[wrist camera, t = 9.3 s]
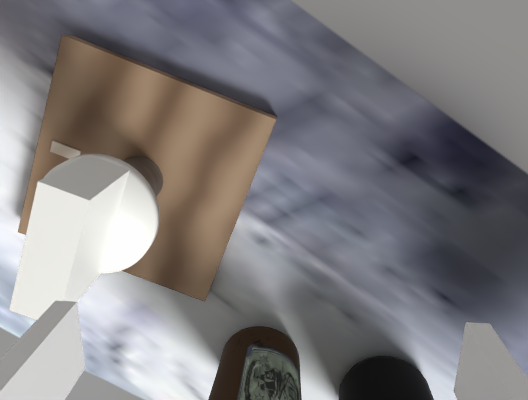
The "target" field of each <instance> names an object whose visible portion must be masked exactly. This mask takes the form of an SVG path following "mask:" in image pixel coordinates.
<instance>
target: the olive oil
mask: <svg viewBox="0 0 528 400" xmlns="http://www.w3.org/2000/svg"><path fill="white" fill-rule="evenodd" d="M208 400H302V399H301V383H300V362H299V355H298V351H297V349H296V347H295V345H294V344H293V342H292V341H291V340H290V339H289V338H288V337H287V336H286V335H284V334H283V333H281V332H279V331H277V330H274V329H271V328H267V327H251V328H247V329H244V330H241V331H239V332H238V333H236V334H235V335H233V336H232V337H231V338H230V339H229V341H228V342H227V344H226V345H225V348H224V350H223V353H222V357H221V360H220V364H219V367H218V371H217V374H216V377H215V381H214V384H213V387H212V390H211V393H210V396H209V399H208Z"/></svg>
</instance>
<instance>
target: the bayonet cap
mask: <svg viewBox="0 0 528 400" xmlns="http://www.w3.org/2000/svg"><path fill="white" fill-rule="evenodd" d="M159 223H160V211H159V205H158V201H157V198H156V195H155V193H154V191H153V189H152V188H151V186H150V184H149V183H148V181H147V180H146V179H145V178H144V176H143V175H142V174H141V173H140V172H139V171H137V170H136V169H135V168H134V167H132V166H131V165H129V164H128V163H126V162H124V161H122V160H120V159H118V158H115V157H112V156H109V155H104V154H84V155H79V156H76V157H73V158H71V159H69V160H67V161H65V162H63V163H61V164H59V165H57V166H56V167H54V168H53V169H52V170H50V171H49V172H48V173H47V174H46V175H45V176H44V178H43V179H41V180H39V181H38V183H37V187H36V192H35V196H34V201H33V205H32V210H31V214H30V219H29V224H28V228H27V233H26V237H25V242H24V246H23V251H22V255H21V260H20V264H19V269H18V273H17V278H16V283H15V287H14V292H13V296H12V301H11V305H10V311H13V312H16V313H19V314H21V315H24V316H27V317H30V318H33V319H35V320H38V319H39V317H40V316H41V315H42V314H43V313H44V312H45V311H46V310H47V309H48V308H49V307H50V306H51V305H52V304H53V303H54V302H55V301H73V302H78V301H79V300H80V299H81V297H82V296H83V295H84V294H85V293H86V291H87V290H88V289H89V288H90V287H91V286H92V284H93V283H94V282H95V281H96V280H97V279H98V277H99V276H100V273H101V274H104V273H114V272H118V271H121V270H124V269H126V268H128V267H131V266H132V265H134V264H135V263H136V262H138V261H139V260H140V259H141V258H142V257H143V256H144V254H145V253H146V252H147V250H148V249H149V248H150V246H151V245H152V243H153V242H154V240H155V238H156V235H157V233H158V229H159Z"/></svg>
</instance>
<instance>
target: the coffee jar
mask: <svg viewBox="0 0 528 400" xmlns="http://www.w3.org/2000/svg"><path fill="white" fill-rule="evenodd" d="M339 400H434V399H433V396H432V394H431V391H430V388H429V386H428V383H427V381H426V379H425V378H424V377H423V375H422V374H421V372H420V371H419V370H418V369H416V368H415V367H413V366H412V365H411V364H409V363H408V362H406V361H403V360H400V359H397V358H394V357H387V356H377V357H372V358H368V359H366V360H364V361H362V362H360V363H358V364H356V365H355V366H354V367H353V368H352V369H351V370H350V371H349V372H348V373H347V374H346V375H345V377H344V379H343V381H342V383H341V385H340V390H339Z"/></svg>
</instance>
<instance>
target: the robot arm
mask: <svg viewBox="0 0 528 400" xmlns="http://www.w3.org/2000/svg"><path fill="white" fill-rule="evenodd" d="M84 369H85V363H84V355H83V347H82V338H81V330H80V322H79V314H78V306H77V302H73V301H55V302H54V303H53V304H52V305H51V306H50V307H49V308H48V309H47V310H46V311H45V312H44V313H43V314H42V315H41V316H40V317H39V319H38V320H37V321H36V322H35V323H34V324H33V325H32V326H31V327H30V328H29V329H28V330H27V331H26V332H25V333H24V334H23V336H22V337H21V338H20V339H19V340H18V341H17V342H16V343H15V344H14V345H13V346H12V348H10V349H9V350H8V351H7V353H6V354H5V355H4V356H3V357H2V358H1V359H0V400H65V398H66V397H67V395H68V394H69V392H70V391H71V389H72V388H73V386H74V384H75V383H76V382H77V380H78V378H79V377H80V375H81V374H82V372H83V371H84ZM454 393H455V395H456V397H457V400H528V379H527V378H526V376H525V375H524V373H523V372H522V370H521V369H520V367H519V366H518V364H517V363H516V361H515V360H514V358H513V357H512V355H511V354H510V353H509V351H508V350H507V348H506V347H505V345H504V344H503V342H502V341H501V339H500V338H499V336H498V335H497V333H496V332H495V330H494V329H493V328H492V326H491V325H490V323H471V322H466V324H465V330H464V336H463V341H462V347H461V353H460V358H459V364H458V370H457V375H456V381H455V387H454Z"/></svg>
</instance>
